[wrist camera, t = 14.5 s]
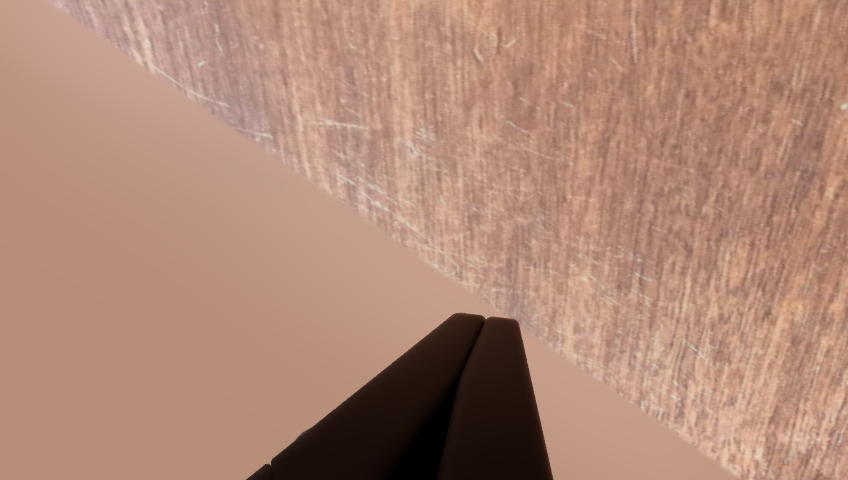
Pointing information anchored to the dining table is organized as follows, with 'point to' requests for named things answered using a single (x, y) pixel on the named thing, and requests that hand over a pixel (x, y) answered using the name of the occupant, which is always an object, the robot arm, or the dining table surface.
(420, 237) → the dining table surface
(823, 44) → the dining table surface
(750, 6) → the dining table surface
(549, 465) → the robot arm
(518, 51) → the dining table surface
